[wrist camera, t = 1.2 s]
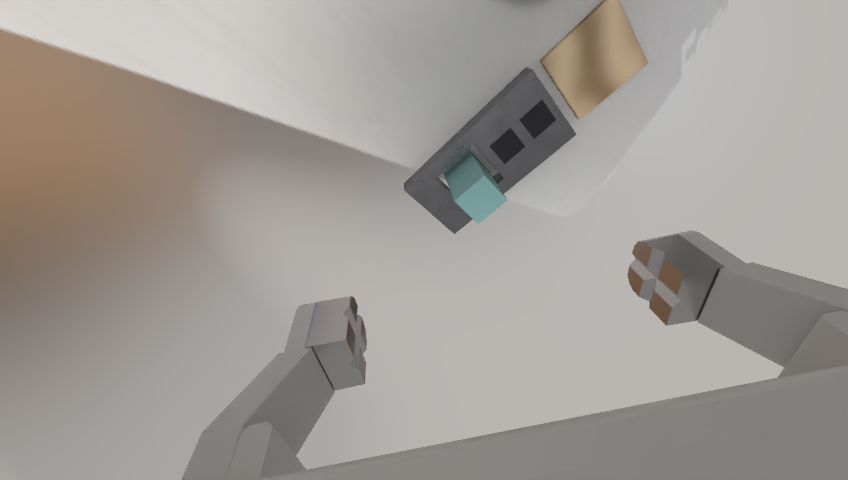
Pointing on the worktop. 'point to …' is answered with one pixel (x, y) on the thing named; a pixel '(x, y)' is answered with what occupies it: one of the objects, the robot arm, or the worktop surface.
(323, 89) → the worktop surface
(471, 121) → the grey slotted board
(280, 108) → the worktop surface
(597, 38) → the pad
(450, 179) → the upright teal block
